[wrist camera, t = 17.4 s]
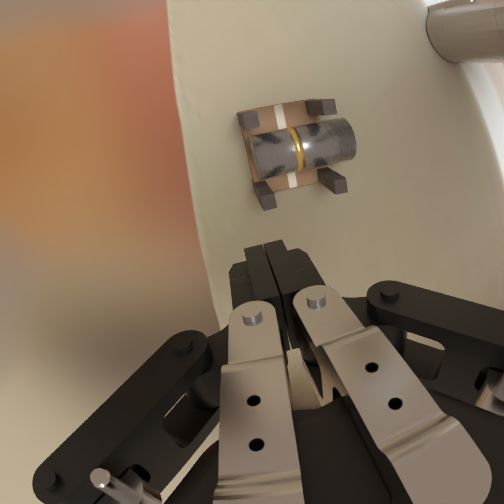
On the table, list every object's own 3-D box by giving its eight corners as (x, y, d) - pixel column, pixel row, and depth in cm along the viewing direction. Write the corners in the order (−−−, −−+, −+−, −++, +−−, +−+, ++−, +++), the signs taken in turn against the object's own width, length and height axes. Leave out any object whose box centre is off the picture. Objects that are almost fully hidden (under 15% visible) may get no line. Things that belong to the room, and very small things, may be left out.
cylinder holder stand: (237, 112, 34) (242, 112, 28) (312, 98, 34) (334, 97, 28) (255, 193, 39) (263, 211, 32) (325, 177, 39) (347, 192, 32)
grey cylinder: (333, 117, 34) (351, 117, 30) (341, 157, 36) (359, 162, 32) (246, 135, 34) (251, 136, 29) (256, 176, 36) (263, 184, 32)
